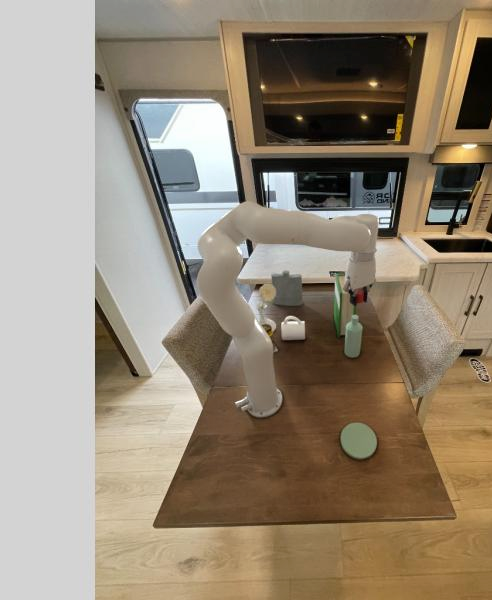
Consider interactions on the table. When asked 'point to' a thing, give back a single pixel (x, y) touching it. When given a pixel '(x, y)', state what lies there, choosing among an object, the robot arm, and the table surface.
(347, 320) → the hardback book
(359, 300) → the cap
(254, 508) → the table surface
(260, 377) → the robot arm
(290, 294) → the hip flask
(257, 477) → the table surface
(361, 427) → the coaster
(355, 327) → the bottle
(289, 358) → the table surface
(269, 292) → the flower in vase
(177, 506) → the table surface
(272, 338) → the condiment
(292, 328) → the mug
